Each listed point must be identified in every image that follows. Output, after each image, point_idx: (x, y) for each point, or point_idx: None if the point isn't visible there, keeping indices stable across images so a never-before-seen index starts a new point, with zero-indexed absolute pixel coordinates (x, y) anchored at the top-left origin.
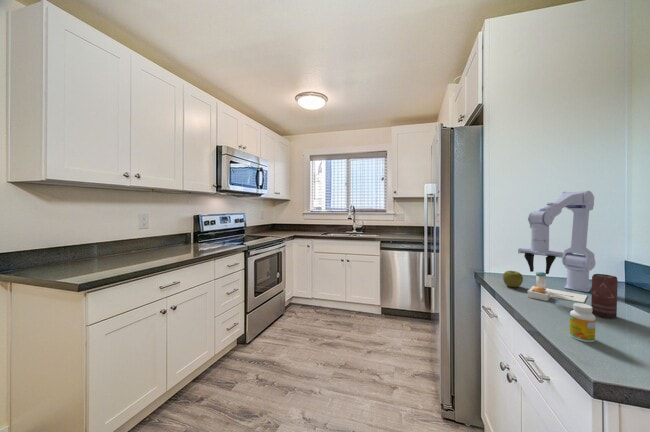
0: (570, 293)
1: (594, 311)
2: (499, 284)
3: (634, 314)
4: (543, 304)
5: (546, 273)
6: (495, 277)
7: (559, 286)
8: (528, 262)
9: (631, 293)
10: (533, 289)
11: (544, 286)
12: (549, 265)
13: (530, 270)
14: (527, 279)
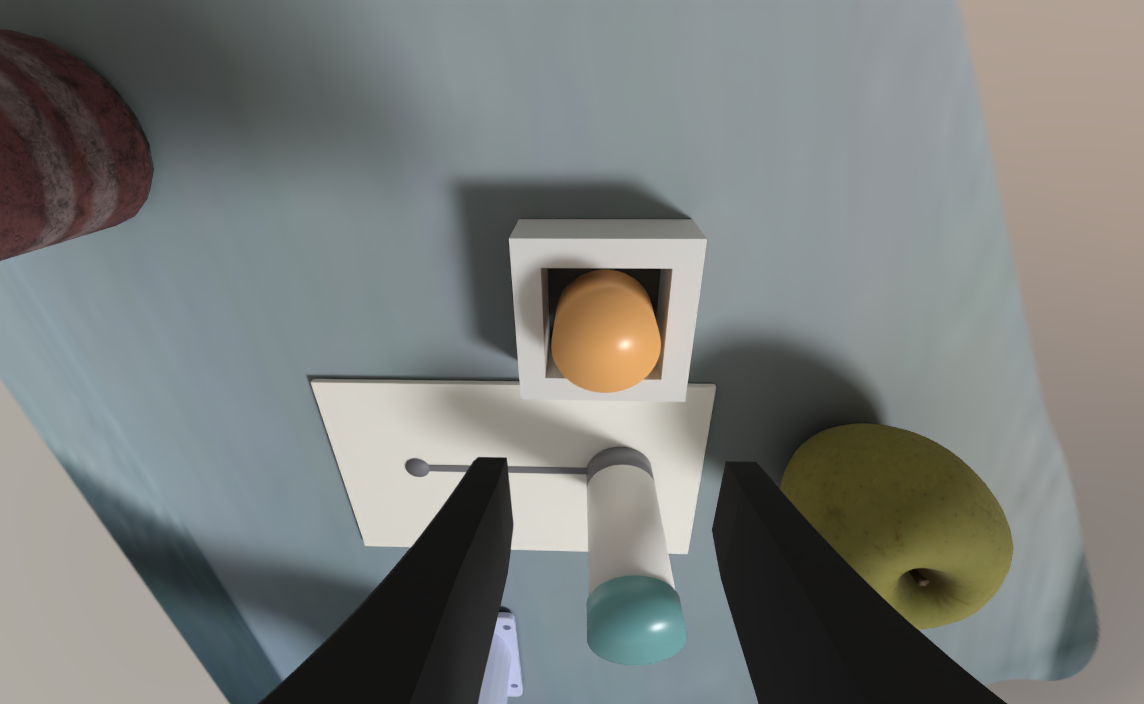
0: None
1: (52, 56)
2: (952, 451)
3: (23, 345)
4: (516, 52)
5: (493, 463)
6: None
7: (547, 631)
8: (916, 644)
9: (264, 690)
10: (662, 359)
11: (593, 495)
12: (358, 616)
13: (765, 475)
14: (738, 664)
